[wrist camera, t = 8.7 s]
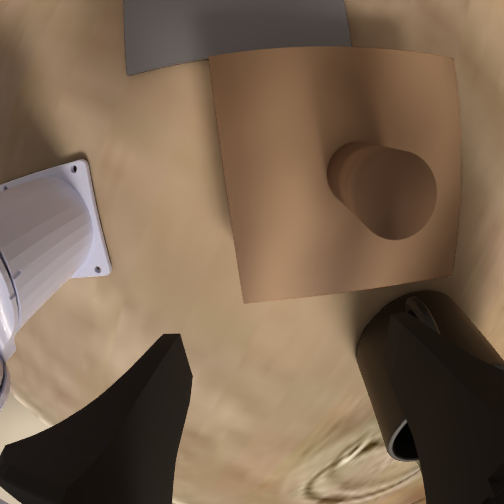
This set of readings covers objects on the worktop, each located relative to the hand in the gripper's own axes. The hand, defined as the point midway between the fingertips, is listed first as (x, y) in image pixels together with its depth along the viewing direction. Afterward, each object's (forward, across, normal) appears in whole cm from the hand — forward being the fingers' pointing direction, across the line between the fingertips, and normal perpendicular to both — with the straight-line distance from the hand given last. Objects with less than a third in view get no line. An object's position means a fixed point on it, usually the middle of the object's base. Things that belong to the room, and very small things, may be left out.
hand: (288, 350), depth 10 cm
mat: (+10, +1, -18) cm, 21 cm away
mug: (+10, -10, +8) cm, 16 cm away
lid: (+6, -4, -5) cm, 9 cm away
